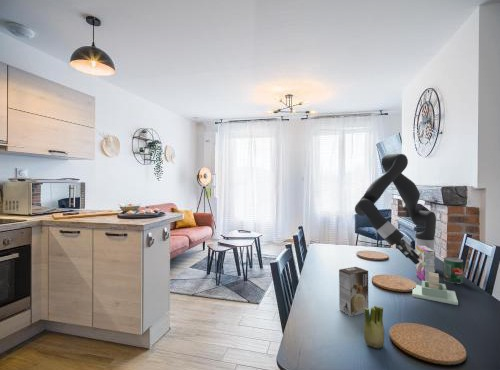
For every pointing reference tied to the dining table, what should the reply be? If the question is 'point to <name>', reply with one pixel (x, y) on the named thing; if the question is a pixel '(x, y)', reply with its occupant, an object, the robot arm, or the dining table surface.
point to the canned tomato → (453, 270)
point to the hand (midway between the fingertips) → (418, 260)
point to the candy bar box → (425, 262)
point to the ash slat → (433, 280)
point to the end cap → (435, 293)
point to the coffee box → (353, 290)
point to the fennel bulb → (374, 327)
